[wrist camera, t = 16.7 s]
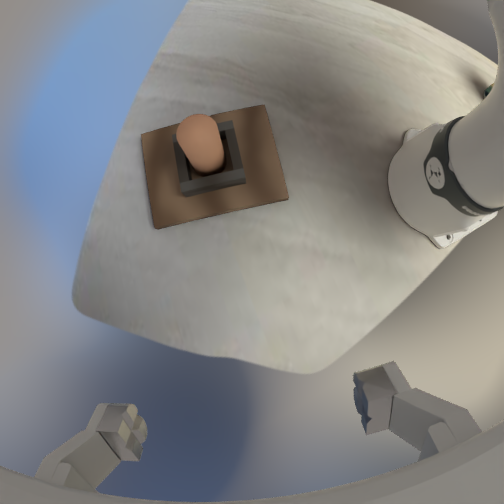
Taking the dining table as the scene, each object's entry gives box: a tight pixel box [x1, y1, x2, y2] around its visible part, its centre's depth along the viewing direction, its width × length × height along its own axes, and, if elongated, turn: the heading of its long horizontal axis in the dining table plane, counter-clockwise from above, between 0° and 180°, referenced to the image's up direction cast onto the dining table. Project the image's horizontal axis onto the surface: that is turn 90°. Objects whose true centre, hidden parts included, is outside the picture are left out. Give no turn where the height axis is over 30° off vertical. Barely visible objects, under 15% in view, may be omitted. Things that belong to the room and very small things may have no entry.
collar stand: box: [141, 105, 289, 229], centre depth 40 cm, size 18×14×4 cm
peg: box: [176, 114, 226, 177], centre depth 36 cm, size 4×4×10 cm
